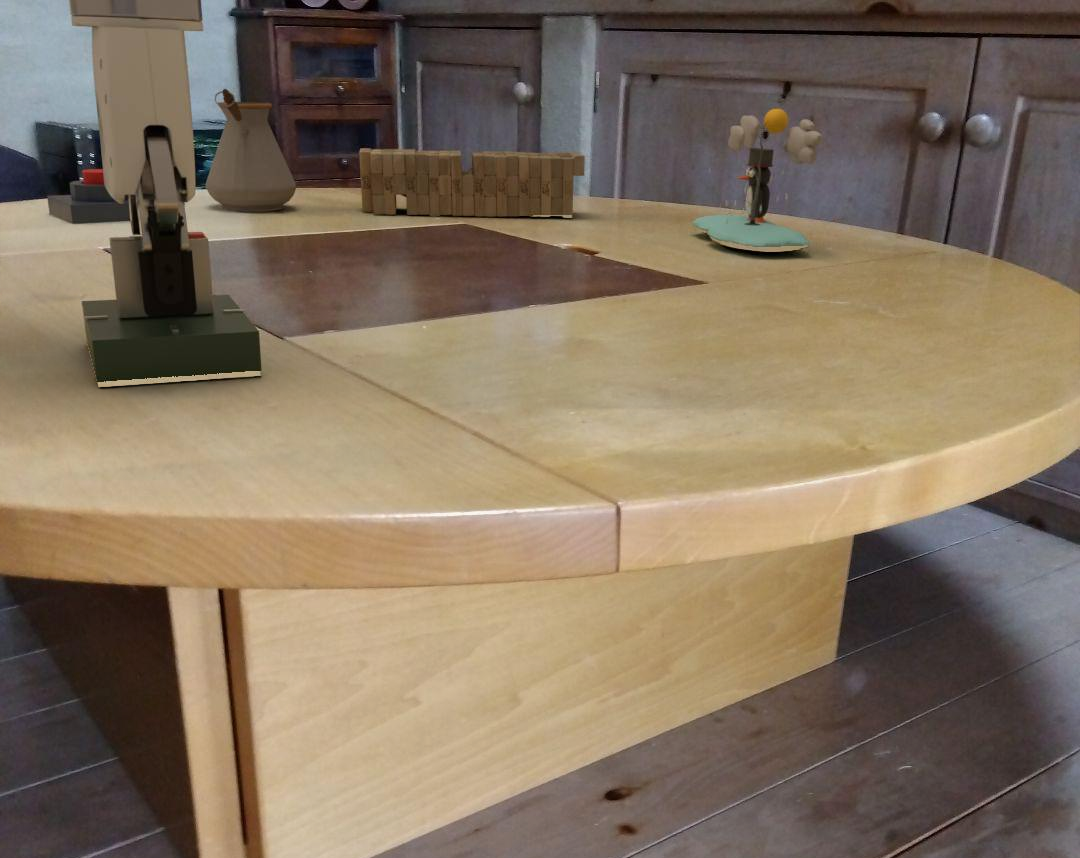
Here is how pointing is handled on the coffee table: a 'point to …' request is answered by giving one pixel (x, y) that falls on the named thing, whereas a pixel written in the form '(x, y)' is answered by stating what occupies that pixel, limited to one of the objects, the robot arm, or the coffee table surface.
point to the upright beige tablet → (130, 279)
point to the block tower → (469, 182)
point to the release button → (93, 176)
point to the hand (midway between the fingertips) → (165, 302)
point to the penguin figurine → (762, 183)
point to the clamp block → (170, 342)
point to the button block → (88, 205)
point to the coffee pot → (248, 161)
